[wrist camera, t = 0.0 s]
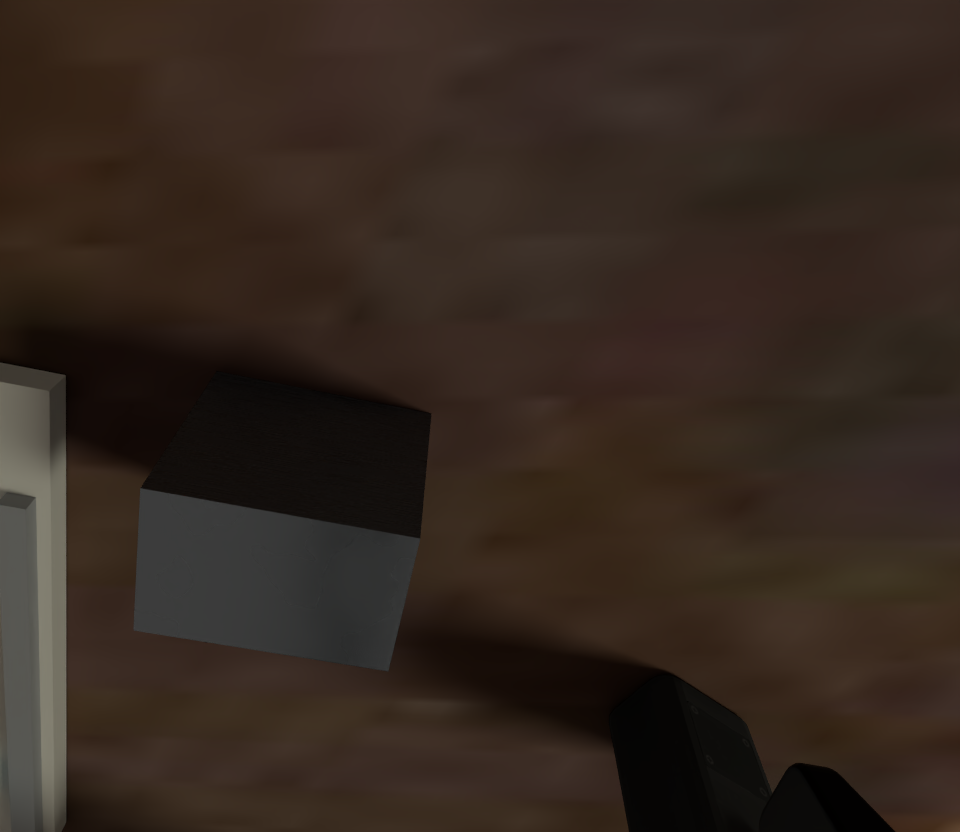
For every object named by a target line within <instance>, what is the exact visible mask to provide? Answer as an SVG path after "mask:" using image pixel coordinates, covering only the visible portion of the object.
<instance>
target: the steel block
mask: <svg viewBox="0 0 960 832" xmlns="http://www.w3.org/2000/svg"><path fill="white" fill-rule="evenodd" d="M430 423H431V413H426V412H421V411H416V410H411V409H406V408H401V407H396V406H391V405H385V404H380V403H375V402H370V401H365V400H360V399H355V398H350V397H345V396H340V395H335V394H330V393H325V392H320V391H315V390H310V389H305V388H300V387H294V386H289V385H284V384H279V383H274V382H269V381H264V380H259V379H254V378H249V377H244V376H239V375H234V374H229V373H224V372H219V371H217V372H216V373H215V375H214V376H213V378H212V379H211V381H210V382H209V384H208V385H207V387H206V389H205V390H204V392H203V393H202V395H201V396H200V398H199V399H198V401H197V402H196V404H195V405H194V407H193V408H192V410H191V412H190V413H189V415H188V416H187V418H186V419H185V421H184V422H183V424H182V425H181V427H180V428H179V430H178V431H177V433H176V435H175V436H174V438H173V439H172V441H171V442H170V444H169V445H168V447H167V448H166V450H165V451H164V453H163V454H162V456H161V458H160V459H159V461H158V462H157V464H156V465H155V467H154V468H153V470H152V471H151V473H150V474H149V476H148V477H147V479H146V481H145V482H144V484H143V485H142V487H141V488H140V509H139V529H138V550H137V571H136V591H135V612H134V630H135V631H141V632H147V633H153V634H159V635H166V636H172V637H178V638H184V639H191V640H197V641H203V642H209V643H215V644H222V645H228V646H234V647H240V648H246V649H253V650H259V651H265V652H271V653H277V654H284V655H290V656H296V657H302V658H308V659H315V660H321V661H327V662H333V663H340V664H346V665H352V666H358V667H364V668H371V669H377V670H383V671H388V670H389V666H390V662H391V658H392V654H393V650H394V645H395V641H396V637H397V633H398V629H399V625H400V620H401V616H402V612H403V608H404V604H405V599H406V595H407V591H408V587H409V583H410V579H411V574H412V570H413V566H414V562H415V558H416V554H417V549H418V545H419V541H420V534H421V523H422V512H423V501H424V490H425V479H426V467H427V456H428V445H429V434H430Z"/></svg>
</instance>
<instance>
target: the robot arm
mask: <svg viewBox="0 0 960 832" xmlns="http://www.w3.org/2000/svg"><path fill="white" fill-rule="evenodd" d="M759 832H895V831H894V830H893V829H892V828H891V827H890V826H889V825H888V824H887V823H886V822H885V821H884V820H883V818H882V817H881V816H880V815H879V814H878V813H877V812H876V811H875V810H874V809H873V808H872V807H871V806H870V805H869V804H868V803H867V802H866V801H865V800H864V799H863V798H862V797H861V796H860V795H859V794H858V793H857V792H856V791H855V790H854V789H853V788H852V787H851V786H850V785H849V784H848V782H847V781H846V780H845V779H844V778H843V777H842V776H841V775H839V774H838V773H837V772H836V771H834V770H833V769H830V768H828V767H822V766H816V765H810V764H804V763H795V764H793V765H792V766H790V767H789V768H788V769H787V770H786V772H785V773H784V775H783V777H782V778H781V780H780V782H779V784H778V785H777V787H776V789H775V790H774V792H773V794H772V795H771V797H770V799H769V800H768V802H767V804H766V806H765V807H764V809H763V811H762V814H761V817H760V821H759Z"/></svg>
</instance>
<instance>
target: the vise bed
mask: <svg viewBox="0 0 960 832" xmlns="http://www.w3.org/2000/svg"><path fill="white" fill-rule="evenodd" d="M65 824H66V375H62V374H57V373H52V372H47V371H42V370H36V369H31V368H26V367H21V366H16V365H11V364H5V363H0V832H62V830H63V828H64V826H65Z"/></svg>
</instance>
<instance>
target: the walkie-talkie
mask: <svg viewBox="0 0 960 832" xmlns="http://www.w3.org/2000/svg"><path fill="white" fill-rule="evenodd" d="M609 726H610V731H611V736H612V742H613V747H614V753H615V758H616V763H617V769H618V774H619V779H620V785H621V790H622V796H623V801H624V806H625V812H626V817H627V823H628V828H629V832H759V821H760V817H761V814H762V811H763V809H764V807H765V806H766V804H767V802H768V800H769V799H770V797H771V795H772V791H771V788H770V786H769V783H768V780H767V778H766V775H765V772H764V770H763V767H762V764H761V761H760V759H759V756H758V753H757V751H756V748H755V745H754V743H753V740H752V737H751V734H750V732H749V729H748V726H747V724H746V723H745V722H744V721H743V720H742V719H741V718H740V717H738V716H736V715H735V714H733V713H732V712H730V711H729V710H727V709H726V708H724V707H722V706H721V705H719V704H718V703H716V702H715V701H713V700H711V699H710V698H708V697H707V696H705V695H704V694H702V693H701V692H699V691H697V690H696V689H694V688H693V687H691V686H690V685H688V684H687V683H685V682H683V681H682V680H680V679H678V678H676V677H674V676H669V675H661V676H656V677H654V678H653V679H651V680H649V681H648V682H647V683H646V684H644V685H643V686H642V687H641V688H640V689H638V690H637V691H636V692H635V693H634V694H632V695H631V696H630V697H629V698H628V699H626V700H625V701H624V702H623V703H622V704H620V705H619V706H618V707H617V708H616V709H614V710H613V712H612V713H611V714H610V719H609Z"/></svg>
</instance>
